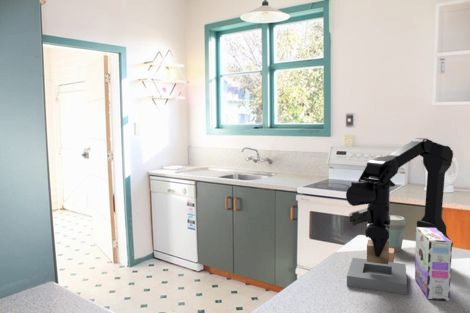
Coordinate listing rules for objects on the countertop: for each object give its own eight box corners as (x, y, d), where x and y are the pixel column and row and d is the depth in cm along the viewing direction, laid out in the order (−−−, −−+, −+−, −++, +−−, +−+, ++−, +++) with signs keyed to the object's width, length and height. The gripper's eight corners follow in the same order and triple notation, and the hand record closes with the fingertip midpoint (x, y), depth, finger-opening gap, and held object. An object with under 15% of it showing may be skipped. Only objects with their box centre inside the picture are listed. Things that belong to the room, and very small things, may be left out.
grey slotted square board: (405, 273, 122) (405, 263, 121) (406, 294, 107) (406, 284, 107) (352, 266, 128) (352, 257, 128) (346, 285, 113) (346, 275, 113)
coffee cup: (402, 254, 138) (403, 221, 137) (378, 250, 143) (378, 218, 142) (407, 247, 146) (408, 216, 144) (383, 243, 150) (384, 213, 149)
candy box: (450, 301, 103) (453, 241, 101) (426, 299, 104) (428, 240, 102) (434, 280, 116) (436, 226, 115) (413, 279, 117) (415, 226, 116)
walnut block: (388, 257, 119) (389, 241, 118) (388, 264, 113) (388, 247, 113) (368, 255, 121) (368, 239, 120) (366, 261, 115) (366, 245, 115)
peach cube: (393, 262, 131) (394, 248, 130) (393, 268, 126) (393, 253, 126) (377, 260, 133) (378, 246, 132) (377, 266, 128) (377, 251, 128)
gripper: (354, 194, 127) (353, 240, 128) (347, 207, 110) (346, 260, 111) (390, 196, 123) (389, 244, 124) (389, 209, 105) (388, 265, 107)
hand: (378, 252), depth 117 cm, fingers closed on walnut block, 6 cm apart
